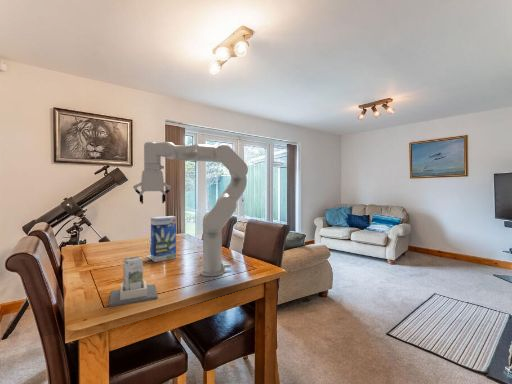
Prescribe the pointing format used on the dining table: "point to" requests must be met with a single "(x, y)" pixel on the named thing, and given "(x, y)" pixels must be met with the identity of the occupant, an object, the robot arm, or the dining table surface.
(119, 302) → the collar holder
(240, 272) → the dining table surface
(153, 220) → the string lights box
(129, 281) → the syrup box
